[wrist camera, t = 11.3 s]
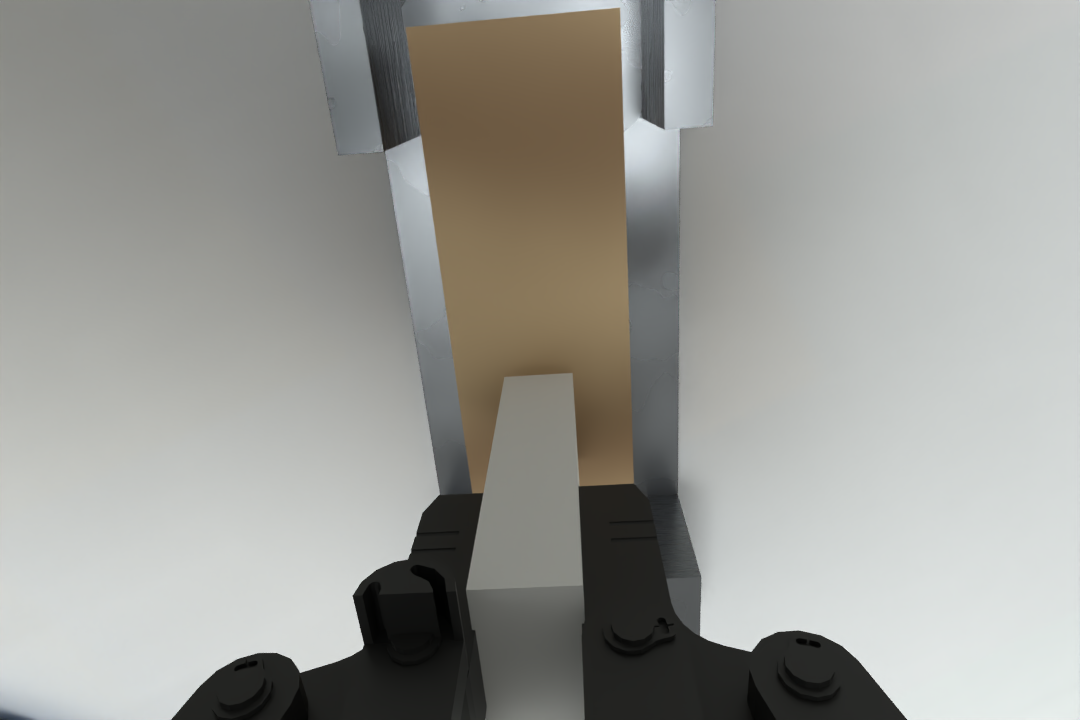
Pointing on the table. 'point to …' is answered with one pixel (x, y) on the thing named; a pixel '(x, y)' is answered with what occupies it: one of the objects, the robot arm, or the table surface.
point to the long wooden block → (531, 218)
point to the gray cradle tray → (651, 211)
